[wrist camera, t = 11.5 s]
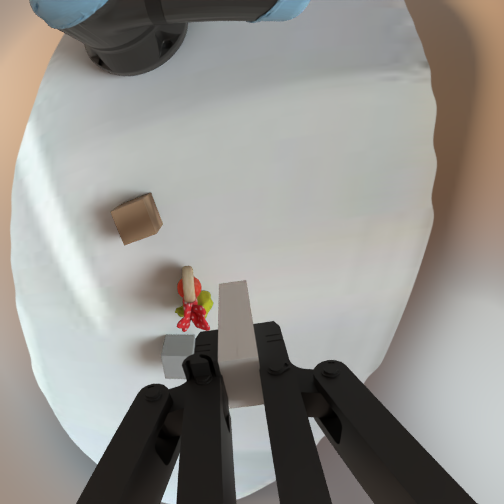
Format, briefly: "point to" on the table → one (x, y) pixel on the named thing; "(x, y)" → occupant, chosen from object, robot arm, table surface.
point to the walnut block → (137, 219)
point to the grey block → (176, 354)
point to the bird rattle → (193, 301)
